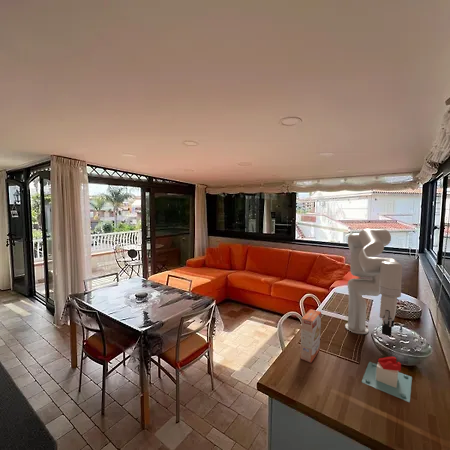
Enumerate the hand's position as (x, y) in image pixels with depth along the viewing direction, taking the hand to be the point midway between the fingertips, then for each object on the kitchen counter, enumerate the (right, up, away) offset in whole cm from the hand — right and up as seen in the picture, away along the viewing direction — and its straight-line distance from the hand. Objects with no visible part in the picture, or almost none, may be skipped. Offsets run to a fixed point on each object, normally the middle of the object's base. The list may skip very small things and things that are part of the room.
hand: (387, 330), depth 100 cm
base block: (0, -21, 0) cm, 21 cm away
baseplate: (0, -22, 0) cm, 22 cm away
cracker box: (-26, -21, +20) cm, 39 cm away
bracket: (0, -15, 0) cm, 15 cm away
